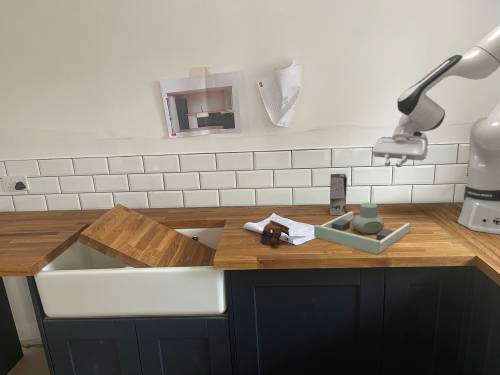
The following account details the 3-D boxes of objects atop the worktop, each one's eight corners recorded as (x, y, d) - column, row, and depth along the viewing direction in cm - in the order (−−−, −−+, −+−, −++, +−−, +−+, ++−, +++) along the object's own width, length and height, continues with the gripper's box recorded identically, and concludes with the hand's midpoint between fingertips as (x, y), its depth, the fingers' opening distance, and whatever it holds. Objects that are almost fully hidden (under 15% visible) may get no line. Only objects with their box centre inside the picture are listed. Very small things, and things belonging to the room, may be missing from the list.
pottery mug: (256, 238, 122) (266, 217, 123) (280, 249, 123) (289, 228, 123) (261, 243, 110) (271, 219, 111) (287, 254, 111) (297, 231, 111)
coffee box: (345, 215, 143) (347, 177, 139) (329, 215, 144) (330, 177, 140) (344, 209, 151) (345, 173, 148) (329, 208, 153) (330, 173, 149)
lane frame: (409, 231, 123) (410, 220, 122) (377, 254, 105) (377, 242, 104) (350, 218, 139) (351, 208, 138) (314, 236, 121) (314, 225, 120)
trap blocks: (395, 238, 117) (395, 231, 116) (387, 243, 113) (388, 236, 112) (340, 225, 131) (340, 219, 131) (331, 229, 127) (332, 223, 127)
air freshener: (357, 236, 121) (358, 208, 118) (348, 228, 129) (349, 202, 126) (387, 234, 121) (389, 207, 119) (377, 226, 129) (378, 200, 127)
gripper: (376, 132, 142) (364, 158, 138) (429, 133, 128) (418, 163, 124) (380, 141, 146) (369, 167, 142) (432, 144, 132) (421, 173, 128)
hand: (392, 165), depth 133 cm, fingers open, 3 cm apart
